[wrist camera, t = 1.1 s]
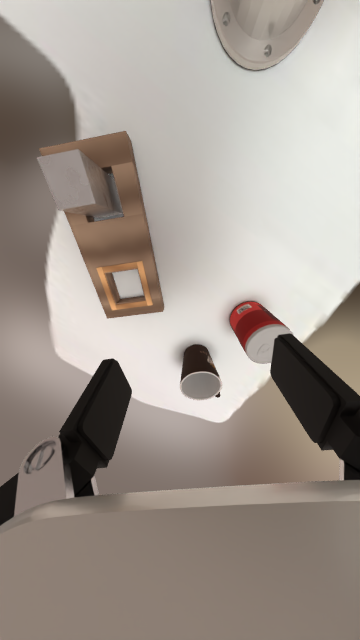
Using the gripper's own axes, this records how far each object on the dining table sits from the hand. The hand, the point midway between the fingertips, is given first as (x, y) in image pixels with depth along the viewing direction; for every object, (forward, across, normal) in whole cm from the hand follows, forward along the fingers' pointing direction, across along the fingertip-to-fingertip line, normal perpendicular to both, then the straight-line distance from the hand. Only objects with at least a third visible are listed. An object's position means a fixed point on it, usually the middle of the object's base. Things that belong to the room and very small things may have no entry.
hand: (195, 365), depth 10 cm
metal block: (+25, +11, -14) cm, 31 cm away
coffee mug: (+25, 0, +22) cm, 34 cm away
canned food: (+25, -12, +12) cm, 30 cm away
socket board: (+25, +11, -7) cm, 28 cm away
